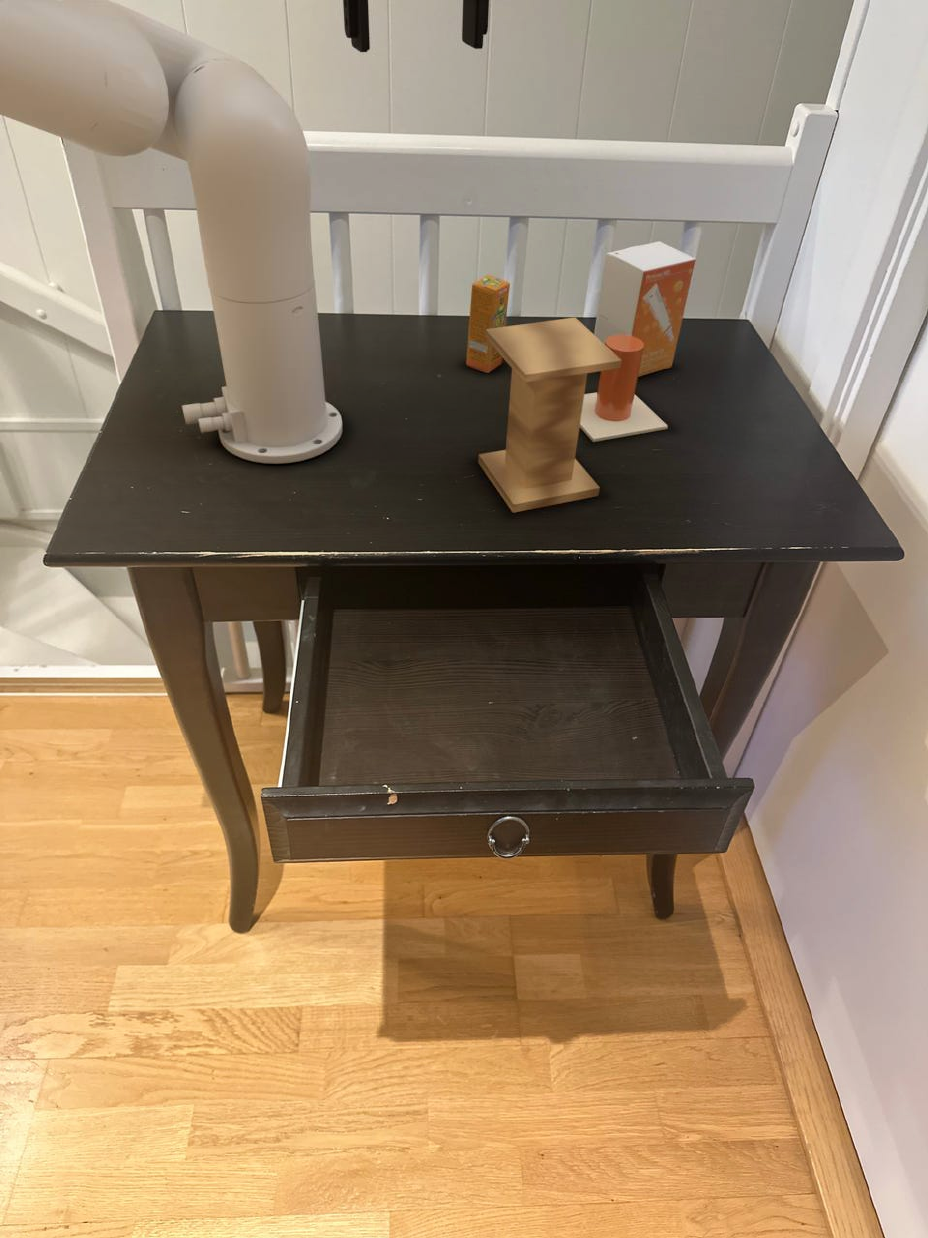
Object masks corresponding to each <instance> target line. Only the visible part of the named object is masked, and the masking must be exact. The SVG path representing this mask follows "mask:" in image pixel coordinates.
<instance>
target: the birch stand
mask: <svg viewBox="0 0 928 1238" xmlns="http://www.w3.org/2000/svg"><path fill="white" fill-rule="evenodd" d="M485 338H486V339H487V340H488V341H489V342H490V343H491V344H492V346H493V347H494V348H495V349H496V350H497V351H498V353H499V354H500V355H501V356H502V359H503V360H505V361H504V362H506V363H507V364H508V365H509V367H510V368H511V379H510V391H509V404H508V415H507V416H508V417H507V428H506V441H505V449H503V450H498V451H491V452H485V453H479V454H478V458H477V459H478V461H477V462H478V465H479V466H480V468H481V470H483V472H484V473H485V475H486V476H487V478H488V480H489V481H490V482H491V483H492V485H493V486H494V488H495V489H496V490H497V492H498V494H499V495H500V496H501V498H502V499H503V501H504V502H505V504H506V505H507V507H508V508H509V509H510V511H511V513H513V514H514V513H515V514H516V513H518V512H520V513H521V512H524V511H529V510H534V509H540V508H544V507H550V506H554V505H555V506H556V505H560V504H565V503H570V502H575V501H581V500H585V499H590V498H595V497H599V496H600V495H599V494H600V487H601V486H599V485H598V484H597V482H596V481H595V480H594V479H593V477H591V475H590V474H589V473H588V472H587V470H586V469H585V468H584V467H583V466H582V465H581V464H580V462H579V461H578V460H577V459H576V455H577V454H576V453H577V448H578V447H577V446H578V441H579V433H580V420H581V413H582V406H583V399H584V394H586V393H585V391H586V386H587V377H588V374H592V373H597V372H598V373H600V371H606V370H612V369H619V368H620V367H621V359H620V358H619V357H618V356H617V355H615V354H614V353H613V352H612V351H611V350H610V349H609V348H608V347H607V346H606V345H605V344H604V343H602V342H601V341H600V340H599V339H598V338H597V337H596V336H595V335H594V332H592V331H591V330H590V329H589V328H587V327H586V326H585V325H584V324H583V323H582V322H581V321H580V320H579V319H578V318H577V317H569V318H562V319H561V318H560V319H554V320H544V321H538V322H530V323H525V324H524V323H523V324H515V325H507V326H505V327H499V328H491V329H486V330H485Z"/></svg>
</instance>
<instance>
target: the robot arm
mask: <svg viewBox="0 0 928 1238" xmlns="http://www.w3.org/2000/svg"><path fill="white" fill-rule="evenodd" d="M342 3H343V4H342V6H343V7H342V8H343V26H344V33H345V37H346V38H347V39H350V43H351V47H353V48H354V49H355V50H356V51H358V52H359V53H368V51H370V49H371V43H370V42H371V41H370V38H371V37H370V14H369V13H370V12H369V0H342ZM489 10H490V0H462V23H461V24H462V25H461V40H462V41H461V42H463V43H464V44H465V45H467V46H469V47H471V48H473V49H475V50H482V49H483V48H484V47H483V46H484V36H486V35H487V34H488V31H489V14H490V11H489ZM0 115H1V116H3V117H6V118H8V119H10V120H14V121H16V122H18V123H21V124H23V125H24V124H25V125H27V126H29V127H32V128H35V129H38V130H40V131H42V132H45V133H48V134H51V135H54V136H56V137H59V138H61V139H64V140H65V141H68V142H71V143H72V144H73V143H74V144H75V145H78V146H81V147H83V148H85V149H88V150H90V151H93V152H96V153H99V154H103V155H106V156H111V157H121V158H122V157H130V156H135V155H138V154H142V153H143V152H145V151H147V150H148V149H152V150H155V151H158V152H161V153H164V154H166V155H169V156H172V157H174V158H177V159H180V160H181V161H182V160H183V161H185V162H187V165H188V170H189V175H190V180H191V184H192V185H191V186H192V190H193V195H194V202H195V209H196V216H197V223H198V231H199V235H200V236H199V237H200V243H201V244H200V245H201V249H202V255H203V263H204V267H205V273H206V274H205V275H206V279H207V283H208V284H207V285H208V288H209V293H210V299H211V305H212V310H213V316H214V317H213V318H214V321H215V327H216V333H217V334H216V335H217V339H218V345H219V350H220V356H221V362H222V367H223V368H222V369H223V373H224V380H225V386H222V387H221V392H222V396H221V397H214V398H213V401H209V402H203V403H200V402H197V403H191V404H183V405H181V409H182V413H183V417H184V421H185V425H186V426H188V425H189V426H190V425H195V424H198V425H199V429H200V433H201V434H205V433H210V432H211V433H212V432H215V431H218V436H219V440H220V443H221V444H222V446H223V447H224V448H225V449H226V451H228V452H229V453H231V454H232V455H233V456H236V457H239V458H240V459H243V460H245V461H250V462H252V463H260V464H269V465H270V464H272V465H274V464H275V465H280V464H282V465H283V464H291V463H297V462H303V461H306V460H309V459H313V458H315V457H317V456H320V455H323V454H324V453H325V452H327V451H329V450H330V449H331V448H333V447H334V446H335V445H336V444H338V442H339V440H340V439H341V437H342V434H343V420H342V415H341V414H340V412H339V410H338V409H337V408H336V407H335V406H334V405H332V404H330V403H329V402H327V401H326V391H325V382H324V381H325V380H324V369H323V359H322V358H323V357H322V346H321V335H320V325H319V323H320V322H319V313H318V312H319V311H318V302H317V301H318V300H317V290H316V289H317V288H316V280H315V271H314V259H313V247H312V229H311V200H312V199H311V198H312V197H311V196H312V195H311V194H312V173H311V172H312V171H311V161H310V153H309V148H308V144H307V141H306V140H307V139H306V137H305V134H304V132H303V128H302V126H301V124H300V121H299V119H298V117H297V116H296V114H295V112H294V111H293V109H292V108H291V106H290V105H289V103H288V102H287V101H286V100H285V98H283V96H282V95H281V93H279V92H278V91H277V89H276V88H274V87H273V85H272V84H271V83H269V82H268V81H267V79H266V78H265V77H264V76H263V75H262V74H261V73H260V72H258V70H256V69H255V68H254V67H252V66H251V65H249V64H248V63H247V62H245V61H244V60H241V59H240V58H238V57H235V56H234V55H231V54H230V53H228V52H225V51H223V50H221V49H219V48H216V47H215V46H212V45H211V44H208V43H206V42H203V41H201V40H199V39H197V38H195V37H192V36H191V35H188V34H185V33H183V32H182V31H179V30H177V29H175V28H174V27H173V28H172V27H170V26H169V25H167V24H164V23H162V22H160V21H158V20H155V19H153V18H151V17H149V16H146V15H144V14H141V13H140V12H138V11H136V10H134V9H132V8H129V7H127V6H124V5H122V4H120V3H117V2H115V1H112V0H0Z"/></svg>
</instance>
